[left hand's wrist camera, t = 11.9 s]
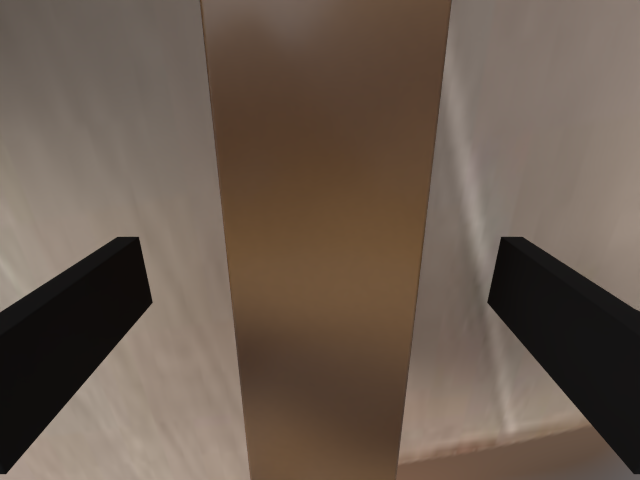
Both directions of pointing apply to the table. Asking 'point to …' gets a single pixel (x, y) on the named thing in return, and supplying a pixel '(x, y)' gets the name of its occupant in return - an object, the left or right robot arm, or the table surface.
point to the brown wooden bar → (324, 218)
